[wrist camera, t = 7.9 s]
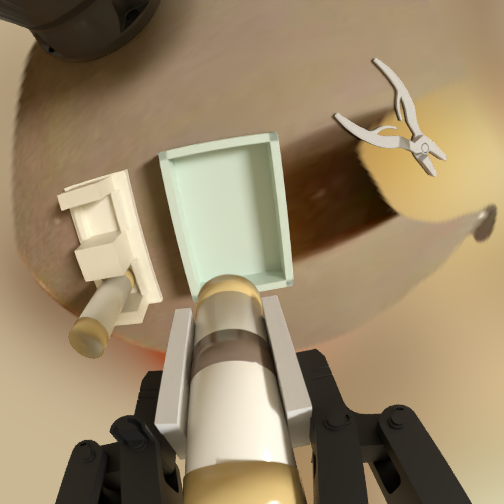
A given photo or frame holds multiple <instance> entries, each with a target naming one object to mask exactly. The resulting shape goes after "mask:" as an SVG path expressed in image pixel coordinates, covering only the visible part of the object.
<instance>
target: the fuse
mask: <svg viewBox="0 0 504 504" xmlns="http://www.w3.org/2000/svg"><path fill="white" fill-rule="evenodd" d="M135 281H136V279H135V275H134V273H133V272H132V270H131V269H130V268H128V269H127V271H126V272H125V274H124V275H123V276H117V277H111V278H105V279H104V280H103V281H102V283H101V284H100V286H99V287H98V289H97V290H96V292H95V293H94V295H93V297H92V298H91V300H90V301H89V303H88V304H87V306H86V307H85V309H84V311H83V312H82V314H81V315H80V317H79V319H78V320H77V321H76V323H75V324H74V326H73V328H72V329H71V331H70V333H69V341H70V344H71V345H72V347H73V348H74V349H75V350H76V351H77V352H78V353H79V354H81V355H83V356H85V357H88V358H94V359H95V358H99V357H100V356H102V354H103V353H104V350H105V348H106V346H107V343H108V341H109V337H110V335H111V333H112V331H113V328H114V326H115V324H116V322H117V320H118V317H119V315H120V313H121V311H122V309H123V307H124V305H125V302H126V300H127V298H128V296H129V294H130V293H131V291H132V289H133V287H134V285H135Z"/></svg>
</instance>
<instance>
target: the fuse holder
mask: <svg viewBox="0 0 504 504" xmlns="http://www.w3.org/2000/svg"><path fill="white" fill-rule="evenodd" d="M64 189H65V192H63V193H61V194H59V195H57V196H58V200H59V204H60V207H61V211H62V210H66V209H69V208H70V212H71V215H72V219H73V222H74V225H75V229H76V232H77V235H78V238H79V241H80V244H81V245H80V246H79V247H78V248H77V249H76V250H75V251H74V252H75V255H76V257H77V260H78V263H79V266H80V268H81V271H82V273H83V276H84V278H85V281H86V282H87V281H93V280H94V282H95V285H96V287H97V289H98V287H99V286H100V284H101V283H102V281H103V280H104V279H105V278H111V277H117V276H123V275H124V274H125V272H126V271H127V269H128V268H130V269H131V270H132V272H133V273H134V275H135V279H136V281H135V285H134V287H133V289H132V291H131V293H130V294H129V296H128V298H127V300H126V302H125V305H124V307H123V309H122V311H121V313H120V315H119V317H118V320H117V322H116V324H115V326H117V325H127V324H136V323H142V321H143V318H144V316H145V313H146V310H147V307H148V304H150V303H157V302H162V300H163V297H162V294H161V291H160V288H159V285H158V282H157V279H156V276H155V273H154V269H153V266H152V263H151V260H150V256H149V253H148V249H147V246H146V242H145V239H144V235H143V232H142V228H141V224H140V221H139V217H138V213H137V209H136V205H135V201H134V197H133V193H132V188H131V184H130V179H129V175H128V170H127V169H126V170H122V171H119V172H115V173H112V174H108V175H105V176H101V177H98V178H94V179H91V180H88V181H85V182H82V183H78V184H75V185H72V186H69V187H67V188H64Z"/></svg>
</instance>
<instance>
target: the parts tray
mask: <svg viewBox="0 0 504 504" xmlns="http://www.w3.org/2000/svg"><path fill="white" fill-rule="evenodd" d="M158 156H159V161H160V166H161V171H162V176H163V181H164V186H165V191H166V195H167V200H168V204H169V209H170V213H171V217H172V222H173V226H174V230H175V234H176V238H177V242H178V246H179V250H180V254H181V258H182V262H183V265H184V269H185V273H186V276H187V280H188V284H189V287H190V291H191V294H192V298H193V301H194V302H197V299H198V294H199V291H200V289H201V288H202V286H203V285H204V284H205V283H206V282H207V281H209V280H210V279H212V278H214V277H216V276H219V275H225V274H233V275H239V276H242V277H244V278H246V279H248V280H249V281H251V282H252V283H253V284H254V285H255V287H256V288H257V290H258V292H260V291H266V290H271V289H277V288H283V287H288V286H293V285H294V280H293V268H292V257H291V246H290V235H289V225H288V216H287V206H286V197H285V188H284V179H283V171H282V163H281V155H280V147H279V139H278V132H268V133H260V134H252V135H245V136H238V137H232V138H225V139H220V140H214V141H208V142H203V143H197V144H192V145H187V146H183V147H178V148H173V149H169V150H165V151H162V152H159V153H158Z"/></svg>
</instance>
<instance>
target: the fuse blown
mask: <svg viewBox="0 0 504 504" xmlns="http://www.w3.org/2000/svg"><path fill="white" fill-rule="evenodd" d="M189 389H190V392H189V406H188V422H187V440H186V464H185V476H184V478H183V504H307V501H306V497H305V493H304V488H303V484H302V480H301V476H300V472H299V470H298V469H297V465H296V461H295V457H294V452H293V448H292V443H291V439H290V434H289V430H288V425H287V421H286V417H285V412H284V408H283V403H282V399H281V394H280V390H279V385H278V380H277V375H276V371H275V366H274V362H273V357H272V353H271V348H270V345H269V340H268V336H267V331H266V327H265V322H264V317H263V309H262V304H261V300H260V295H259V292H258V290H257V288H256V287H255V285H254V284H253V283H252V282H251V281H249V280H248V279H246V278H244V277H242V276H239V275H233V274H225V275H219V276H216V277H214V278H212V279H210V280H209V281H207V282H206V283H205V284H204V285H203V286H202V288H201V289H200V291H199V294H198V299H197V308H196V325H195V335H194V345H193V353H192V362H191V373H190V385H189Z"/></svg>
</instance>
